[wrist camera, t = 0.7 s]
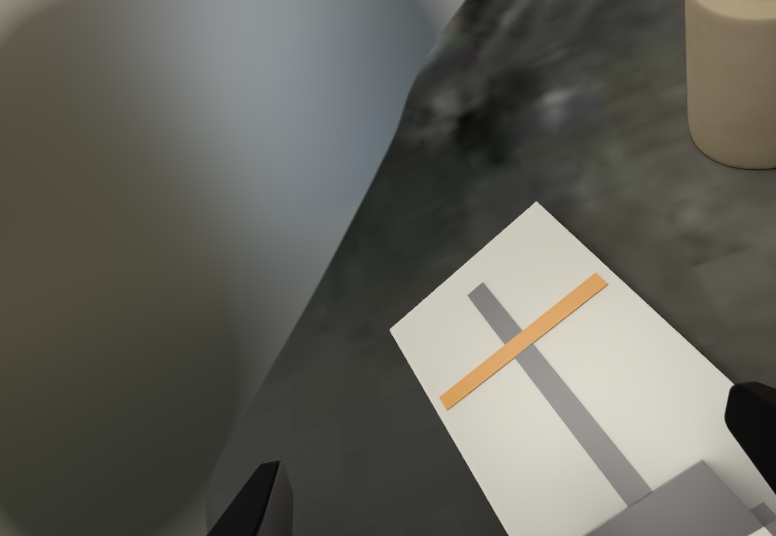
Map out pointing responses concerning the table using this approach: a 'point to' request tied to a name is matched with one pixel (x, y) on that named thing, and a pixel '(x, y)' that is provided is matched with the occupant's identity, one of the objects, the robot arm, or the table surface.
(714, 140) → the candle
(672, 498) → the fader
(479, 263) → the slider track board
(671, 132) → the table surface
